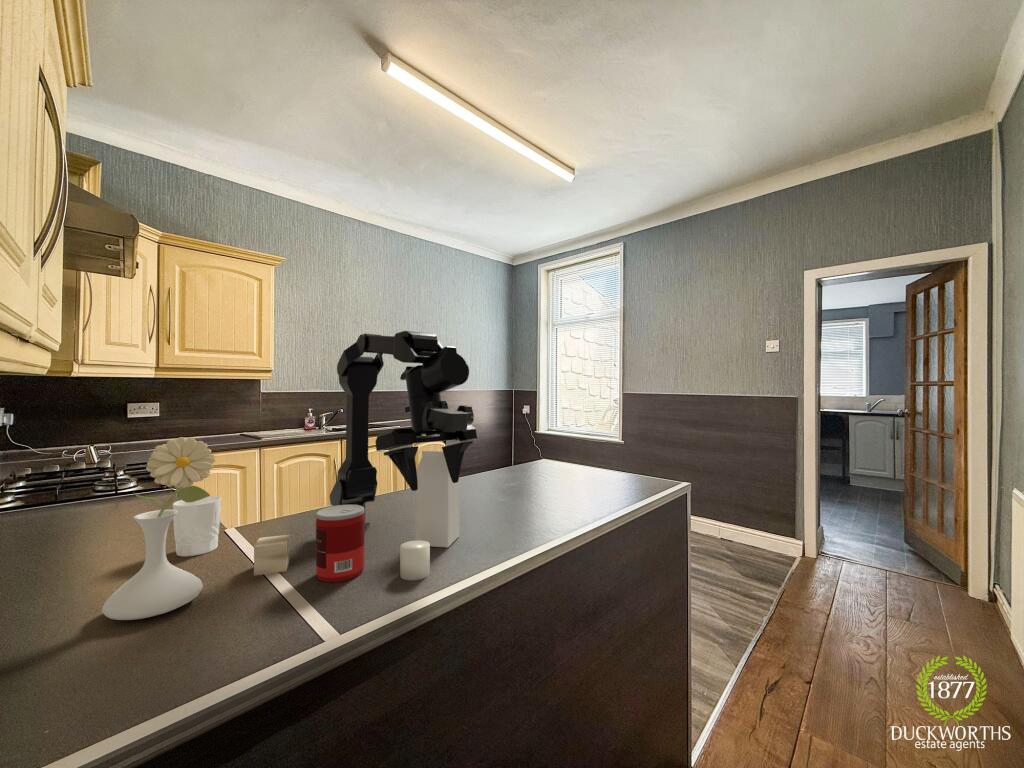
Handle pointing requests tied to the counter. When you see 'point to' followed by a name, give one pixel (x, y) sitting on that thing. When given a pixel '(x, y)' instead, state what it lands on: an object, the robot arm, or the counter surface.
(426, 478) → the milk carton
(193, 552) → the white cup
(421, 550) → the off-white smooth rounded part
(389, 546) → the counter surface
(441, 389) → the robot arm
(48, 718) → the counter surface
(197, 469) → the flower in vase
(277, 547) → the birch block
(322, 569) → the canned food
